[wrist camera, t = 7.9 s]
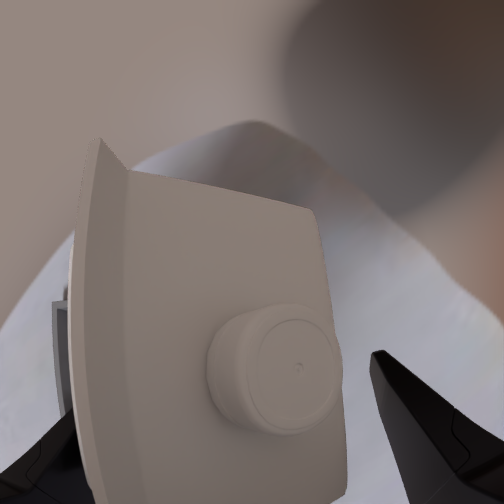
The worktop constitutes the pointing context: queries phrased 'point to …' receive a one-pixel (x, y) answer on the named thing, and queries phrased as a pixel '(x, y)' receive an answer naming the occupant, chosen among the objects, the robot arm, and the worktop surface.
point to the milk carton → (201, 344)
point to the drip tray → (61, 355)
